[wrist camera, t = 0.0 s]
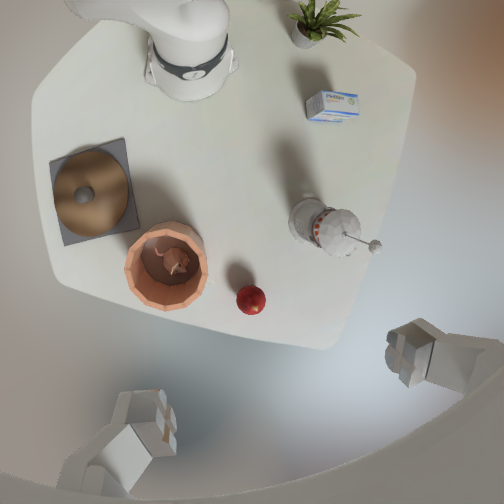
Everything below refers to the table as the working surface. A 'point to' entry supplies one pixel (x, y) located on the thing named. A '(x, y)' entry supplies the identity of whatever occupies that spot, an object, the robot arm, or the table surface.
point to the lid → (91, 194)
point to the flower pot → (159, 292)
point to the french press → (327, 228)
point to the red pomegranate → (251, 300)
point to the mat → (130, 214)
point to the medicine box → (332, 106)
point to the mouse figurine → (174, 260)
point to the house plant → (317, 24)
